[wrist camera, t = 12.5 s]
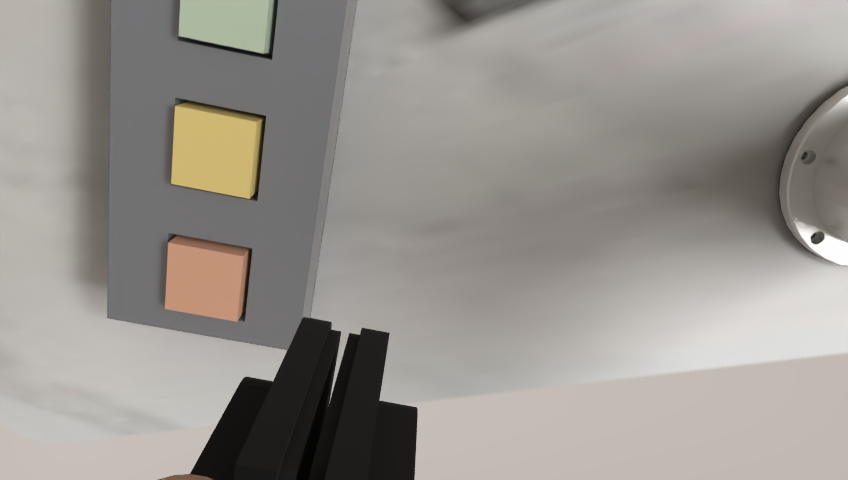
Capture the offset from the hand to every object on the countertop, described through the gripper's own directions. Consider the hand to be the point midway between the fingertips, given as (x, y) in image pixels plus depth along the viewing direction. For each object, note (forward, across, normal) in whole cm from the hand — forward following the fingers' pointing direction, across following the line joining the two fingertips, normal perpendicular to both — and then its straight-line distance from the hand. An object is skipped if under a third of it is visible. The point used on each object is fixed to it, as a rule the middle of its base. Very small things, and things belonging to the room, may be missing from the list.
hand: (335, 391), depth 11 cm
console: (+27, +10, +2) cm, 29 cm away
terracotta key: (+24, +10, +10) cm, 28 cm away
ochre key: (+24, +10, +2) cm, 26 cm away
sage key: (+24, +10, -6) cm, 27 cm away
